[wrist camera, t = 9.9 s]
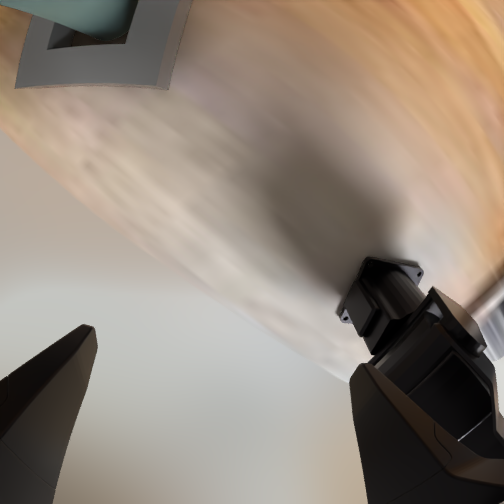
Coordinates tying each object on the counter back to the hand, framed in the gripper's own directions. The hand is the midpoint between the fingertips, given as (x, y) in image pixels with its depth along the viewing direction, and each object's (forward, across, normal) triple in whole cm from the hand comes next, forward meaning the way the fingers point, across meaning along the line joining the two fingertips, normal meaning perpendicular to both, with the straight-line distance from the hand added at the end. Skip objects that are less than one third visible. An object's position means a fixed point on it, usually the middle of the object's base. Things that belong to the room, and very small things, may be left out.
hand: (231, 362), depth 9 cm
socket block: (+13, +12, -14) cm, 22 cm away
